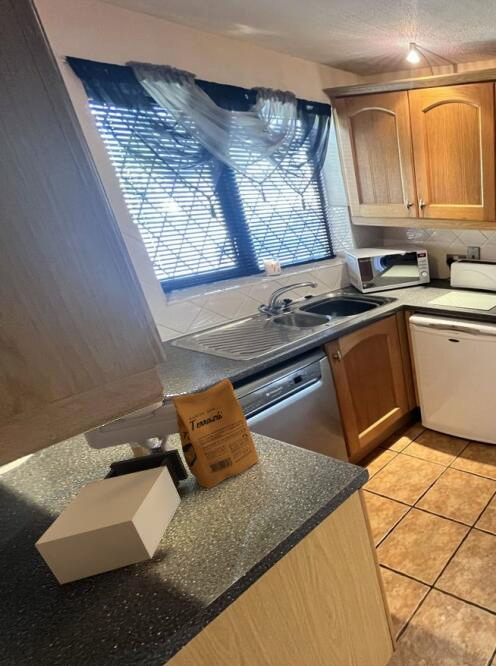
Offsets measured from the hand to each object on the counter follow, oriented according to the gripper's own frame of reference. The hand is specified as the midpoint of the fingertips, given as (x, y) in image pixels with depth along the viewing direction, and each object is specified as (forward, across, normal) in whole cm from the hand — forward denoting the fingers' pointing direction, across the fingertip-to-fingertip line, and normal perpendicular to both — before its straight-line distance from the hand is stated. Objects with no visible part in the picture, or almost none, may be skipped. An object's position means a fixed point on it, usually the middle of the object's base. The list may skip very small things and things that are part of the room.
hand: (160, 451), depth 89 cm
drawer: (+5, 0, +10) cm, 11 cm away
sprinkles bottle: (+6, +8, -10) cm, 14 cm away
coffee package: (+6, -13, +5) cm, 15 cm away
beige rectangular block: (+6, 0, +20) cm, 20 cm away
